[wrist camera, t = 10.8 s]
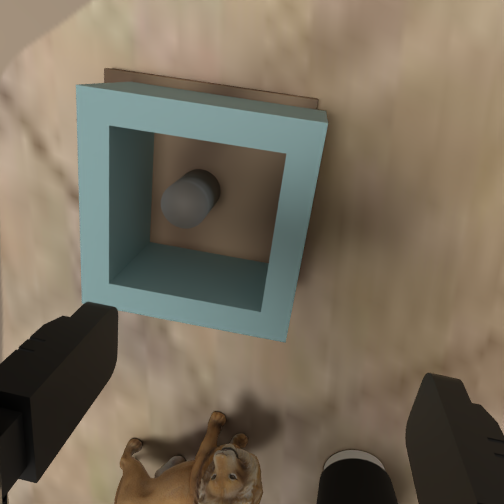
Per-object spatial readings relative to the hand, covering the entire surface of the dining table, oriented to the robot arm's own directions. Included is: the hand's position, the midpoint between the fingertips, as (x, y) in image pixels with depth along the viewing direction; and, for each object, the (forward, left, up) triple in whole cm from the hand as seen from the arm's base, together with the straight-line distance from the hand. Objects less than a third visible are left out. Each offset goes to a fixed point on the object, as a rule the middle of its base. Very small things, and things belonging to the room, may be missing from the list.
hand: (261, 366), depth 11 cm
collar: (+5, 0, -16) cm, 16 cm away
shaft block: (+6, 0, -17) cm, 18 cm away
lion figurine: (+4, +21, -17) cm, 27 cm away
